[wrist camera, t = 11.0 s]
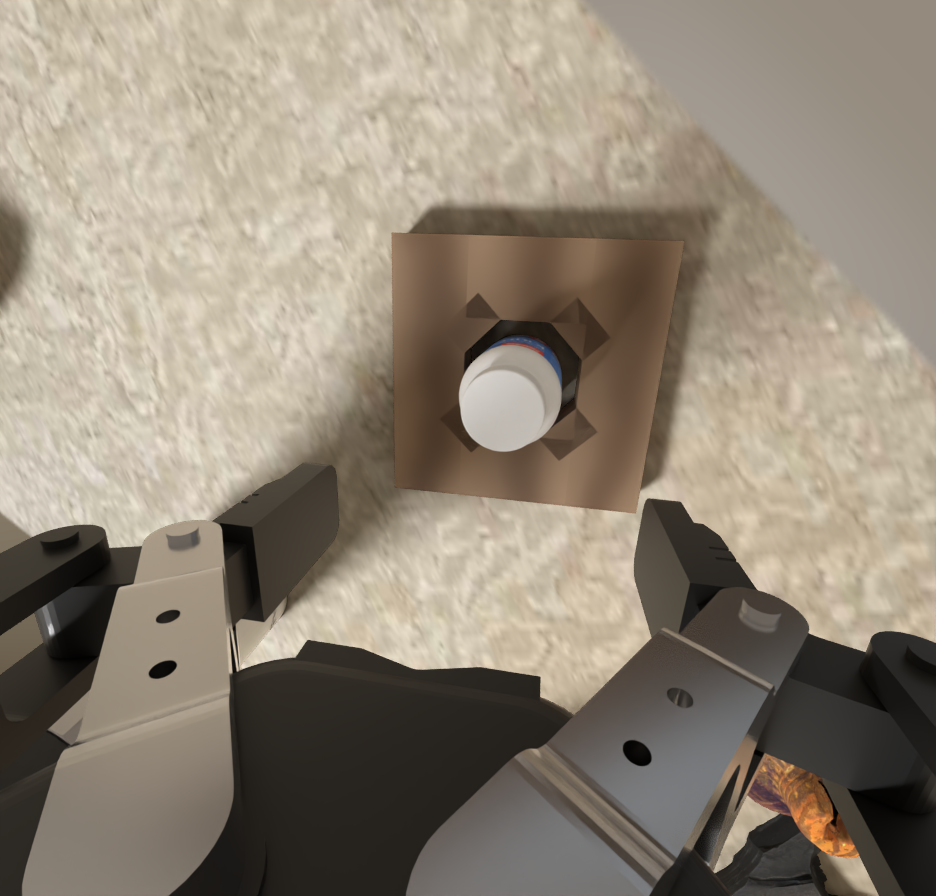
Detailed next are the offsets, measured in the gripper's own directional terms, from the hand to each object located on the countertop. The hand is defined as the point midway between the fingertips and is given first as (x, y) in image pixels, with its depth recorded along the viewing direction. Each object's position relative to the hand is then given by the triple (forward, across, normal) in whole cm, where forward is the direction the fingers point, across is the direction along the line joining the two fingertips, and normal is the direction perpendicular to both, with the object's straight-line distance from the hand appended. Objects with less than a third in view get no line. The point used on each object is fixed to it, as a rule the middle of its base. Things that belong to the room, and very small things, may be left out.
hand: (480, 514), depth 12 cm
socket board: (+20, 0, 0) cm, 20 cm away
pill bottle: (+20, 0, 0) cm, 20 cm away
